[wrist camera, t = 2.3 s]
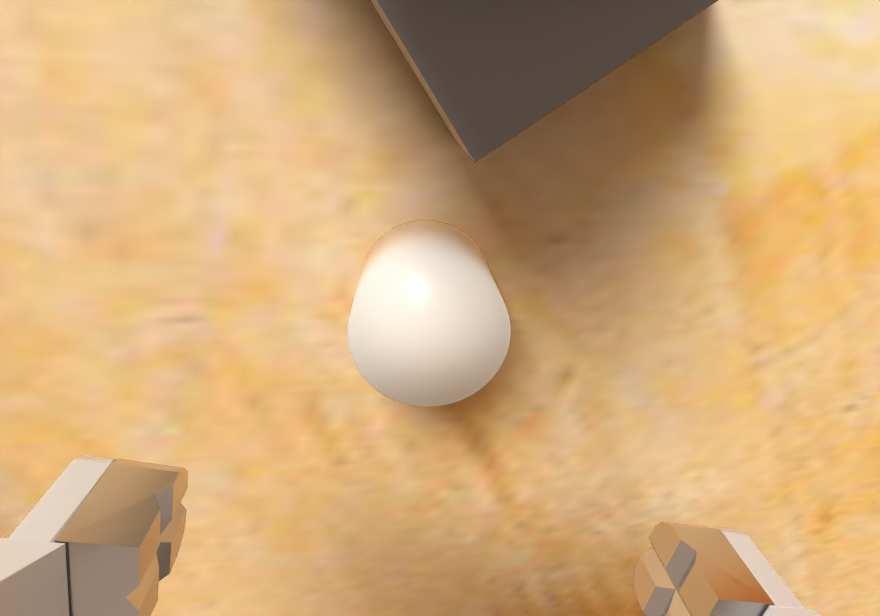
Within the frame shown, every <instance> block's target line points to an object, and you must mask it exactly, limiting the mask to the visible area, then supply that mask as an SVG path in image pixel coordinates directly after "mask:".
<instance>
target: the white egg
mask: <svg viewBox="0 0 880 616" xmlns="http://www.w3.org/2000/svg"><path fill="white" fill-rule="evenodd" d="M510 336H511V327H510V319H509V314H508V311H507V308H506V306H505V303H504V301H503V299H502V296H501V294H500V292H499V290H498V287H497V285H496V283H495V281H494V278H493V276H492V274H491V272H490V270H489V267H488V265H487V263H486V261H485V258H484V256H483V254H482V253H481V251H480V249H479V248H478V246H477V245H476V244H475V242H474V241H473V240H472V239H471V238H470V237H469V236H467V235H466V234H465V233H464V232H462V231H461V230H459V229H457V228H455V227H453V226H451V225H448V224H445V223H442V222H437V221H430V220H421V221H413V222H409V223H405V224H402V225H400V226H397V227H395V228H393V229H391V230H390V231H388V232H387V233H385V234H384V235H383V236H381V237H380V238H379V239H378V240H377V241H376V242H375V243H374V245H373V246H372V247H371V249H370V250H369V252H368V254H367V256H366V258H365V260H364V263H363V266H362V270H361V274H360V278H359V282H358V286H357V290H356V294H355V298H354V302H353V306H352V310H351V313H350V318H349V322H348V331H347V337H348V346H349V351H350V354H351V357H352V360H353V362H354V364H355V366H356V368H357V370H358V371H359V373H360V374H361V375H362V377H363V378H364V379H365V380H366V381H367V382H368V383H369V384H370V385H371V386H372V387H373V388H374V389H376V390H377V391H378V392H380V393H381V394H383V395H385V396H386V397H388V398H390V399H393V400H395V401H398V402H401V403H404V404H408V405H413V406H422V407H434V406H442V405H447V404H451V403H455V402H457V401H460V400H463V399H465V398H467V397H469V396H471V395H473V394H474V393H476V392H477V391H479V390H480V389H482V388H483V387H484V386H485V385H486V384H487V383H488V382H489V381H490V380H491V379H492V378H493V377H494V376H495V375H496V373H497V372H498V370H499V369H500V367H501V366H502V364H503V362H504V360H505V357H506V355H507V352H508V349H509V344H510Z"/></svg>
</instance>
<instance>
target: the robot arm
mask: <svg viewBox="0 0 880 616" xmlns="http://www.w3.org/2000/svg"><path fill="white" fill-rule="evenodd" d="M187 488H188V471H187V470H186V469H185V468H182V467H175V466H168V465H160V464H153V463H146V462H138V461H131V460H124V459H111V458H104V457H97V456H89V455H82V456H80V457H78V458H76V459H74V460H73V461H72V462H71V463H70V464H69V466H68V467H67V468H66V469H65V470H64V472H63V473H62V474H61V475H60V476H59V477H58V479H57V480H56V481H55V482H54V483H53V485H52V486H51V487H50V488H49V489H48V491H47V492H46V493H45V494H44V495H43V497H42V498H41V499H40V500H39V501H38V503H37V504H36V505H35V506H34V507H33V508H32V510H31V511H30V512H29V513H28V514H27V516H26V517H25V518H24V519H23V520H22V522H21V523H20V524H19V525H18V526H17V528H16V529H15V530H14V531H13V532H12V534H11V535H10V536H9V537H8V538H0V616H151V614H152V612H153V610H154V607H155V605H156V603H157V601H158V584H159V581H160V580H161V579H163V578H164V577H165V576H167V575H168V574H169V573H170V572H171V569H172V567H173V565H174V562H175V560H176V558H177V555H178V551H179V548H180V545H181V542H182V538H183V534H184V528H185V522H186V509H185V507H184V506H183V505H182V504H181V503H180V502H181V500H182V498H183V496H184V494H185V492H186V490H187ZM649 538H650V541H651V544H652V548H650V549H649V550H648V551H646V552H645V553H643V554H642V555H640V557H639V560H638V562H637V564H636V567H635V569H634V589H635V593H636V598H637V600H638V603H639V605H640V607H641V609H642V611H643V613H644V614H645V615H646V616H821V615H820V614H818V613H817V612H816V611H814V610H813V609H806V608H804V607H803V606H802V604H801V603H800V602H799V601H798V599H797V598H796V597H795V596H794V594H793V593H792V592H791V590H790V589H789V588H788V587H787V585H786V584H785V583H784V582H783V580H782V579H781V578H780V576H779V575H778V574H777V573H776V571H775V570H774V569H773V568H772V566H771V565H770V564H769V562H768V561H767V560H766V559H765V557H764V556H763V555H762V554H761V552H760V551H759V550H758V548H757V547H756V546H755V545H754V543H753V542H752V541H751V540H750V538H749V537H748V536H747V535H746V534H745V533H743V532H742V531H740V530H739V529H732V528H722V527H707V526H698V525H688V524H679V523H669V522H661V523H659V524H658V525H657V526H655V527H654V529H653V531H652V533H651V535H650V537H649Z"/></svg>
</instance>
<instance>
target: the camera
mask: <svg viewBox="0 0 880 616" xmlns="http://www.w3.org/2000/svg"><path fill="white" fill-rule="evenodd" d="M370 1H371V3H372V5H373V6H374V8H375V10H376V11H377V13H378V14H379V16H380V18H381V19H382V21H383V23H384V24H385V26H386V28H387V29H388V31H389V33H390V34H391V36H392V37H393V39H394V41H395V42H396V44H397V46H398V47H399V49H400V51H401V52H402V54H403V55H404V57H405V59H406V60H407V62H408V64H409V65H410V67H411V69H412V70H413V72H414V73H415V75H416V77H417V78H418V80H419V82H420V83H421V85H422V87H423V88H424V90H425V91H426V93H427V95H428V96H429V98H430V100H431V101H432V103H433V105H434V106H435V108H436V110H437V111H438V113H439V114H440V116H441V118H442V119H443V121H444V123H445V124H446V126H447V128H448V129H449V131H450V132H451V134H452V136H453V137H454V139H455V141H456V142H457V143H458V144H459V145H460V146H461V147H462V149H463V150H464V151H465V152H466V153H467V154H468V155H469V156H470V158H471V159H472V160H473V161H474V162H476V161H478V160H479V159H481V158H482V157H484V156H485V155H487V154H488V153H490V152H491V151H493V150H494V149H496V148H497V147H499V146H500V145H502V144H503V143H505V142H506V141H508V140H509V139H511V138H512V137H514V136H515V135H517V134H518V133H520V132H521V131H523V130H524V129H526V128H527V127H529V126H530V125H532V124H533V123H535V122H536V121H538V120H539V119H541V118H542V117H544V116H545V115H547V114H548V113H550V112H551V111H553V110H554V109H556V108H557V107H559V106H560V105H562V104H563V103H565V102H566V101H568V100H569V99H571V98H572V97H574V96H575V95H577V94H578V93H580V92H581V91H583V90H584V89H586V88H587V87H589V86H590V85H592V84H593V83H595V82H596V81H598V80H599V79H601V78H602V77H604V76H605V75H607V74H608V73H610V72H611V71H613V70H614V69H616V68H617V67H619V66H620V65H622V64H623V63H625V62H626V61H628V60H629V59H631V58H632V57H634V56H635V55H637V54H638V53H640V52H641V51H643V50H644V49H646V48H647V47H649V46H650V45H652V44H653V43H655V42H656V41H658V40H659V39H661V38H662V37H664V36H665V35H667V34H668V33H670V32H671V31H673V30H674V29H676V28H677V27H679V26H680V25H682V24H683V23H685V22H686V21H688V20H689V19H691V18H692V17H694V16H695V15H697V14H698V13H700V12H701V11H703V10H704V9H706V8H707V7H709V6H710V5H712V4H713V3H715V2H716V1H718V0H370Z"/></svg>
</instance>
